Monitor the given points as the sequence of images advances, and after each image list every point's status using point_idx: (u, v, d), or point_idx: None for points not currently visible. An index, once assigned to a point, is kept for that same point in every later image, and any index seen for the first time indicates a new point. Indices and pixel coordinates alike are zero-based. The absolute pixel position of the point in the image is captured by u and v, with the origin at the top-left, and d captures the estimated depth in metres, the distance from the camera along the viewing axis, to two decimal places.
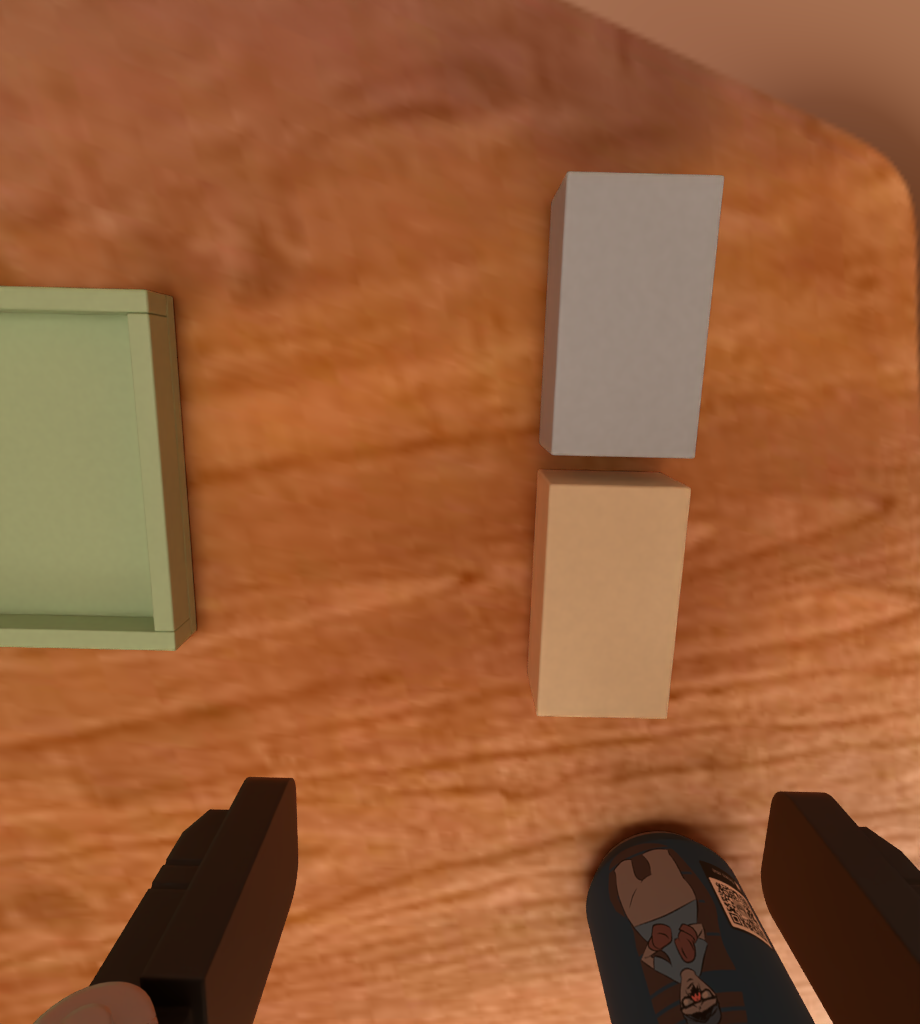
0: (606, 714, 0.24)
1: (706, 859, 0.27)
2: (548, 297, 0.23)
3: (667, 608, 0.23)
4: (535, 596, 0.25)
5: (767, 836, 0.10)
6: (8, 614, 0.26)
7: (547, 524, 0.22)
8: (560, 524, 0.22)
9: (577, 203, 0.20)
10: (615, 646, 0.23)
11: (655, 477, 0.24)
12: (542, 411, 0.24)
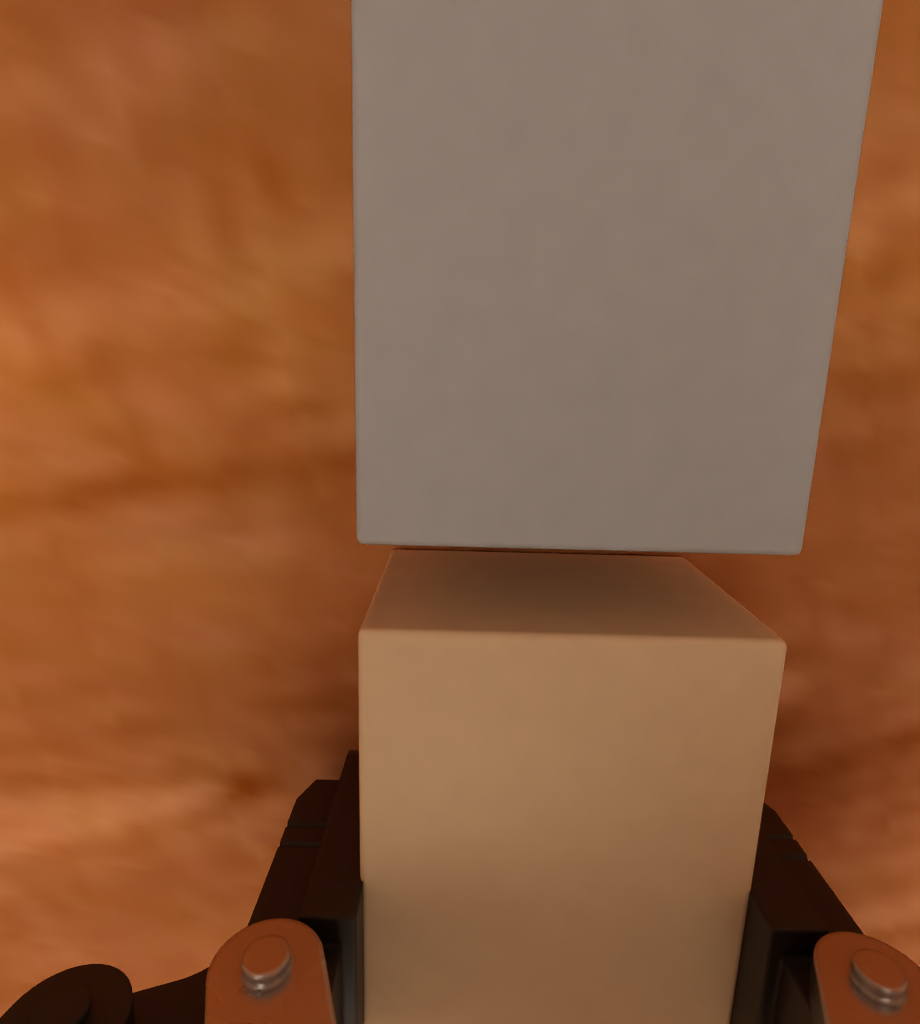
0: None
1: None
2: None
3: (709, 962, 0.08)
4: None
5: None
6: None
7: (360, 741, 0.08)
8: (397, 746, 0.07)
9: None
10: None
11: (674, 582, 0.09)
12: None
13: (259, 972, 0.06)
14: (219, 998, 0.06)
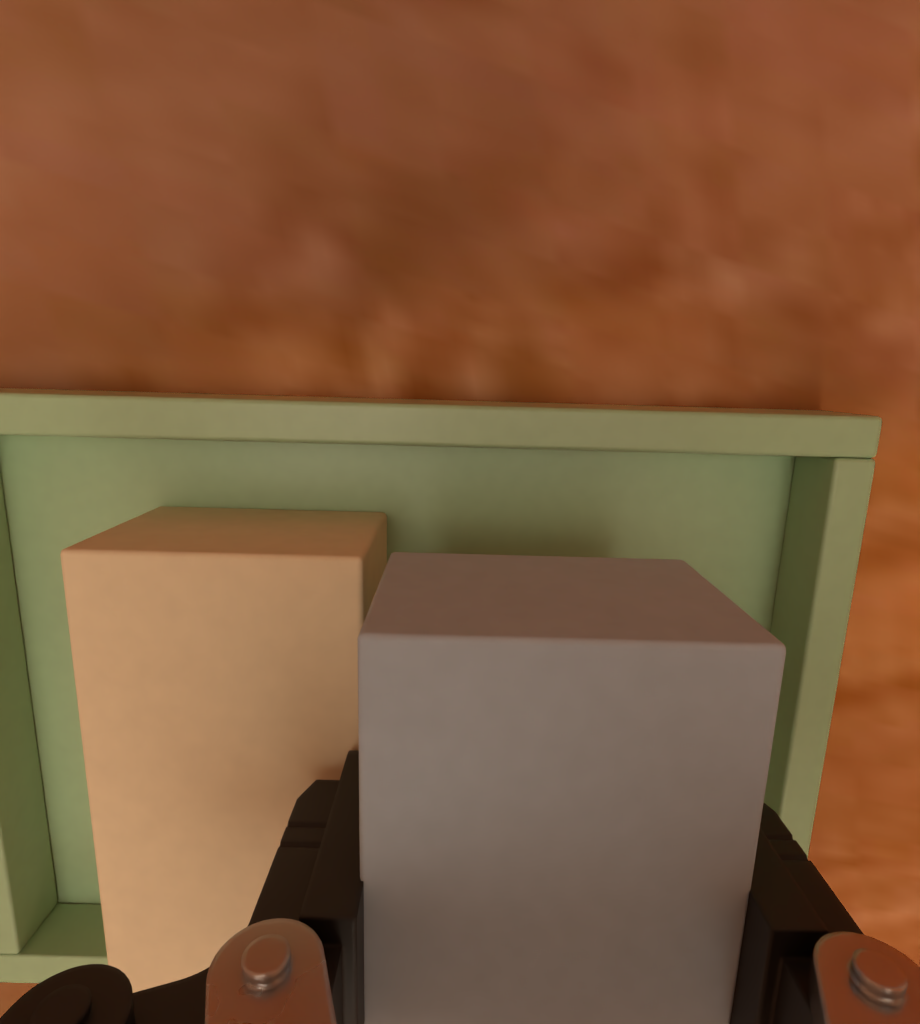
0: None
1: None
2: None
3: None
4: None
5: None
6: None
7: (70, 631, 0.11)
8: (94, 633, 0.11)
9: (390, 710, 0.07)
10: (243, 867, 0.12)
11: (344, 526, 0.12)
12: None
13: (259, 972, 0.06)
14: (219, 998, 0.06)
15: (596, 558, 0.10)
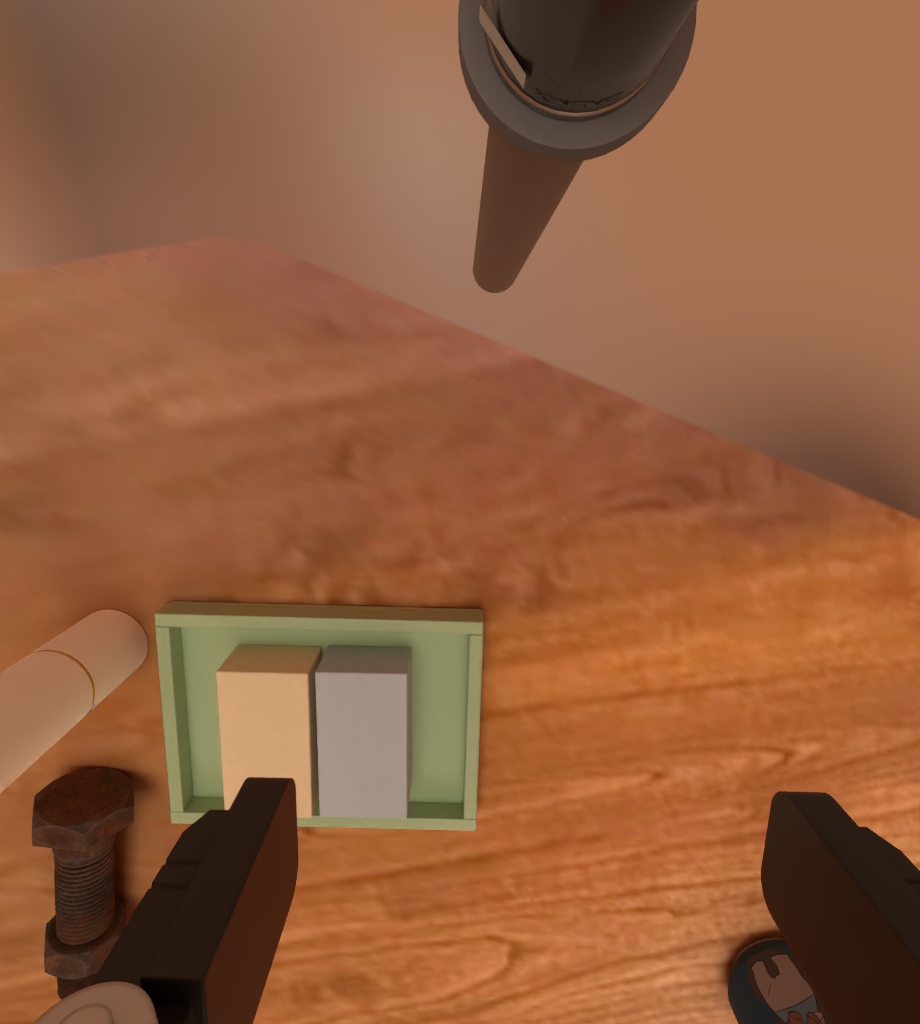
0: None
1: None
2: None
3: (302, 748, 0.35)
4: None
5: (767, 836, 0.10)
6: None
7: None
8: (225, 696, 0.34)
9: (322, 688, 0.34)
10: (270, 771, 0.35)
11: (304, 657, 0.36)
12: None
13: None
14: None
15: (386, 647, 0.37)
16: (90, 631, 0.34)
